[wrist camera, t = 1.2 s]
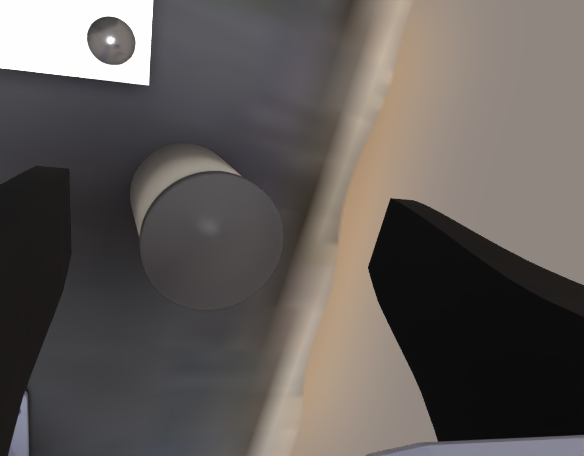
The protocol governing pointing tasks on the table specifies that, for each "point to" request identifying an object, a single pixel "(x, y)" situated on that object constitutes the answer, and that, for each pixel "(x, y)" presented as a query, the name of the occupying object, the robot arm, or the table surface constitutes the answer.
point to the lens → (203, 228)
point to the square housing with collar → (78, 38)
